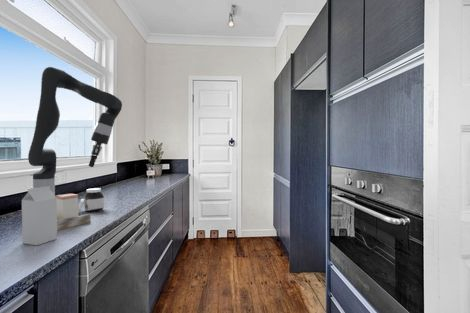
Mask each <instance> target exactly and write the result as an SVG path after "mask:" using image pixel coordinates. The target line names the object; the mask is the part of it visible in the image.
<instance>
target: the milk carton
mask: <svg viewBox="0 0 470 313" xmlns="http://www.w3.org/2000/svg"><path fill="white" fill-rule="evenodd" d="M21 230H22V232H21V234H22V235H21V237H22V238H21V240H22V244H25V245H26V244H27V245H32V246H39V245H42V244H45V243H47V242H51V241H54V240H57V239H58V230H57V198H56V194H55V195H54V194H53V192H52V191H51V190H50V186H48V187H40V188H33V187H32V188H28V189H27V193H26V194H25V195H24V197H23V198H22V199H21Z"/></svg>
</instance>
